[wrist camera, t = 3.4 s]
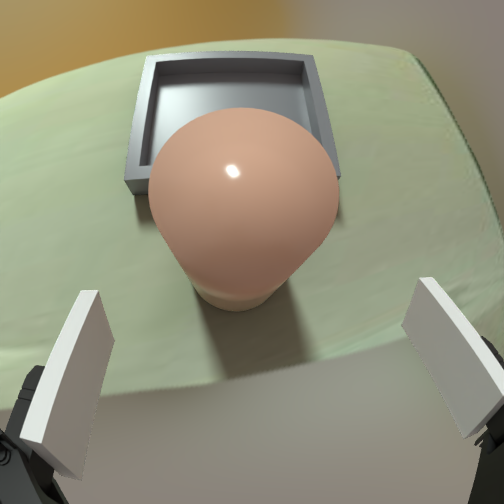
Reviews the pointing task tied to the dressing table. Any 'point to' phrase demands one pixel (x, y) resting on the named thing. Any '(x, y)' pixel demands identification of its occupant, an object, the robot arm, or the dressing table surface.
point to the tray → (221, 99)
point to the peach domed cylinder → (242, 202)
